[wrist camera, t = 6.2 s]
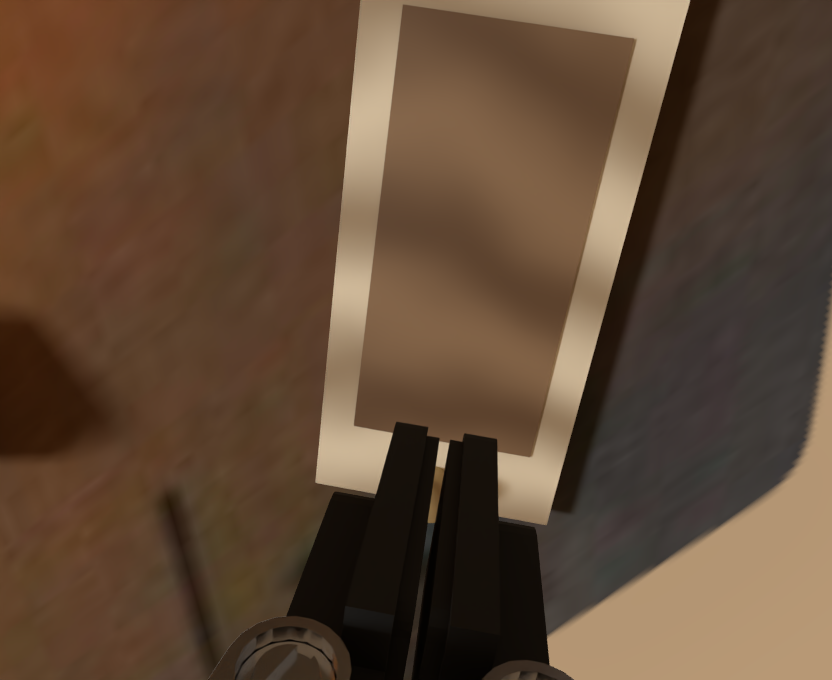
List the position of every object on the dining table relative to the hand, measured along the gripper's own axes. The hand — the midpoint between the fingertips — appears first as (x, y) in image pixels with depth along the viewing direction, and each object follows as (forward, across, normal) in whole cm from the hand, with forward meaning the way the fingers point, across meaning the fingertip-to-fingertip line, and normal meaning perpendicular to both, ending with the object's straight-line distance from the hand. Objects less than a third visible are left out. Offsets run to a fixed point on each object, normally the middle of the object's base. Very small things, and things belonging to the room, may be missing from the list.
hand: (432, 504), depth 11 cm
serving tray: (+17, 0, 0) cm, 17 cm away
